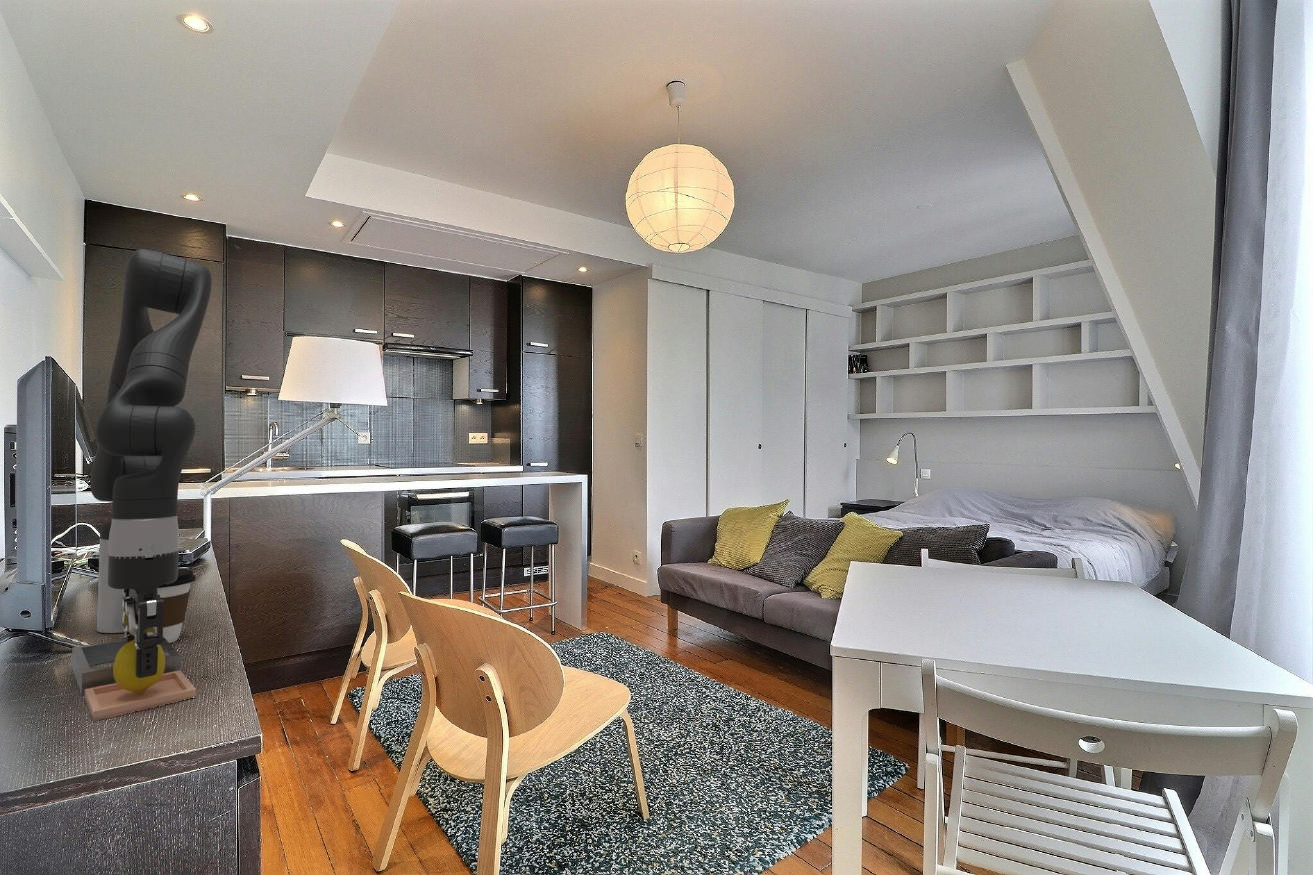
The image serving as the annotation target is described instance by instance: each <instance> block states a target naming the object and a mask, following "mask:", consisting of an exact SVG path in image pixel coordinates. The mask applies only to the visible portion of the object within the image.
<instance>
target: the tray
mask: <svg viewBox="0 0 1313 875" xmlns="http://www.w3.org/2000/svg"><path fill="white" fill-rule="evenodd" d="M193 697H196V698H197V688H196V687H195V686H194V685H193V683H192V682H191V681H190V680H189V679H188V678H187V676H186V675H185V674H184V673H183V672H182V671H181V670H179V671H174V672H169V673H164V674H162V676H161V678H160V679H159V680H158V681H157V682H156V683H155V684H154V685H153V686H151V687H149V688H148V689H147V690H146V691H145V692H144V693H143V694H140V695H137V694H136V693H134V692H132V691H127V690H124V689H122V688H121V687H119V685H118V684H117V683H114V684H109V685H104V686H99V687H94V688H89V689H85V694H84V700H85V704H86V705H87V706H86V707H87V708H88V709H87V710H88V711H89V715H90V717H91V720H92V722H96V721H101V720H107V719H109V718H115V717H119V716H123V715H126V714H127V713H128V714H131V713H136V712H135V711H137V712H140V711H145V710H149V708H150V709H154V708H158V707H157V706H159V707H163V706H166V705H165V704H168V705H171V704H170V703H172V704H176V703H178V702H177V701H181V702H183V701H182V700H184V699H189V700H191V699H190V698H193ZM175 702H176V703H175ZM128 714H127V715H128ZM118 715H119V716H118Z"/></svg>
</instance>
